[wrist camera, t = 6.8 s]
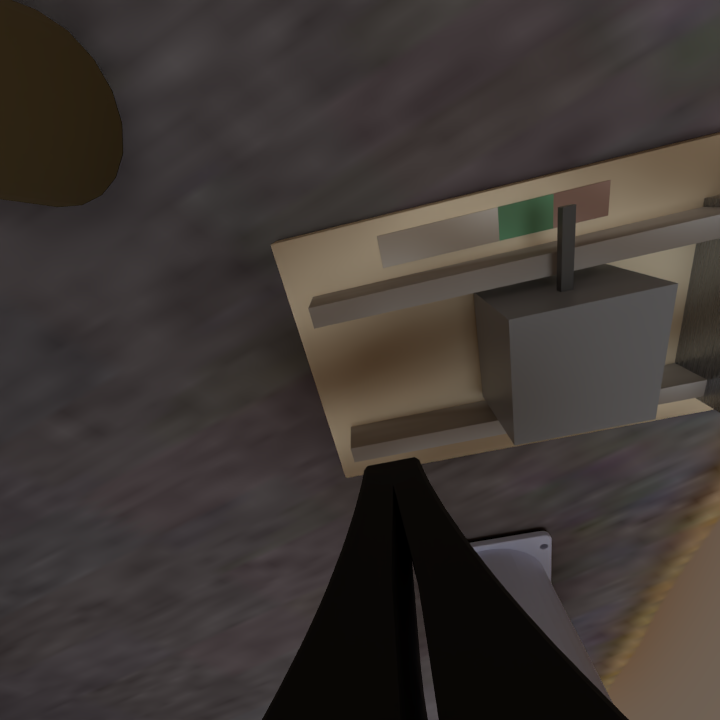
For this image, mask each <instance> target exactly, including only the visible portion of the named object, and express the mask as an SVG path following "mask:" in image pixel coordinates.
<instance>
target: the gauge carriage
mask: <svg viewBox="0 0 720 720" xmlns="http://www.w3.org/2000/svg"><path fill="white" fill-rule="evenodd" d="M575 228H576V204H569V205H565V206H561V207H558V226H557V275H552V276H548V277H543V278H539V279H534V280H530V281H526V282H521V283H517V284H512V285H508V286H503V287H499V288H494V289H490V290H485V291H481V292H476V293H474V304H475V315H476V327H477V338H478V349H479V360H480V372H481V383H482V394H483V397H484V399H485V401H486V402H487V404H488V405H489V407H490V408H491V410H492V411H493V413H494V415H495V416H496V418H497V419H498V421H499V422H500V424H501V425H502V427H503V428H504V430H505V432H506V433H507V435H508V436H509V438H510V439H511V441H512V442H513V444H514V446H515V445H520V444H526V443H531V442H536V441H542V440H547V439H552V438H558V437H563V436H568V435H574V434H579V433H584V432H590V431H595V430H601V429H606V428H611V427H617V426H622V425H627V424H633V423H638V422H643V421H649V420H654V419H656V414H657V408H658V402H659V396H660V390H661V384H662V378H663V372H664V366H665V360H666V354H667V348H668V342H669V336H670V330H671V324H672V318H673V312H674V306H675V300H676V294H677V288H678V283H675V282H671V281H668V280H664V279H660V278H657V277H653V276H649V275H645V274H642V273H638V272H634V271H631V270H627V269H623V268H619V267H616V266H612V265H608V264H602V265H597V266H593V267H588V268H584V269H579V270H575V271H574V256H575Z"/></svg>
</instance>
